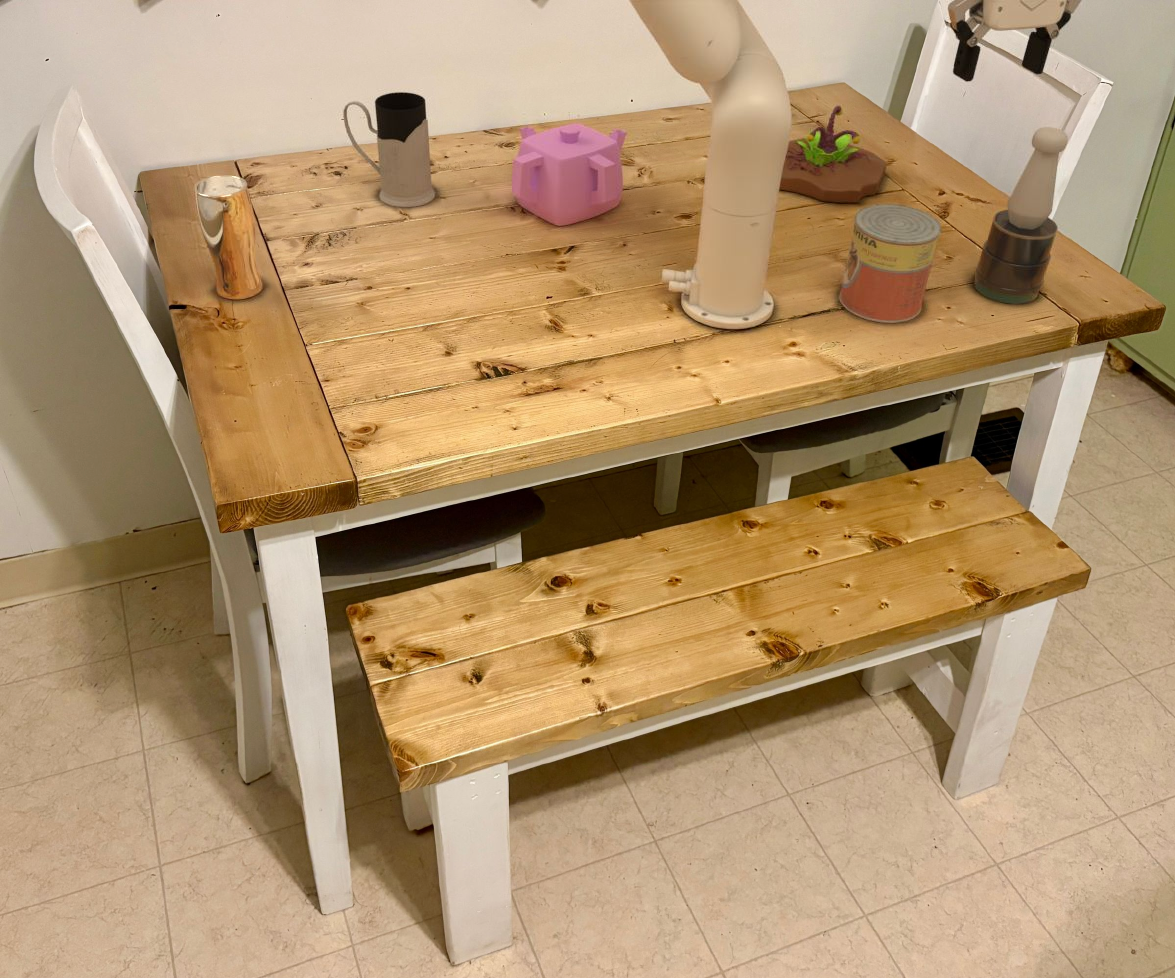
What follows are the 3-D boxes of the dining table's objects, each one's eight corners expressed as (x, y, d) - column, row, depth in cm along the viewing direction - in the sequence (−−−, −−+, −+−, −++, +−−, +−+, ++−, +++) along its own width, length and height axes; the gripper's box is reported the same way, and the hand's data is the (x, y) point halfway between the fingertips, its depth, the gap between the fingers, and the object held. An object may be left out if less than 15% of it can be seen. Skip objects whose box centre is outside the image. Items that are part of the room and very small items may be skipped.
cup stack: (975, 301, 158) (994, 234, 151) (968, 269, 165) (986, 204, 158) (1044, 308, 157) (1066, 242, 150) (1034, 276, 164) (1055, 211, 157)
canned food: (834, 280, 161) (849, 202, 153) (912, 283, 161) (931, 205, 153) (845, 321, 152) (861, 240, 145) (928, 324, 152) (949, 244, 145)
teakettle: (509, 225, 171) (508, 147, 163) (520, 178, 184) (519, 103, 176) (621, 231, 171) (625, 153, 163) (623, 183, 184) (628, 109, 176)
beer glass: (239, 306, 150) (219, 202, 140) (202, 291, 153) (180, 187, 143) (276, 285, 155) (260, 182, 145) (240, 271, 157) (221, 169, 148)
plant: (900, 170, 191) (915, 105, 184) (857, 212, 178) (870, 144, 171) (793, 142, 199) (803, 79, 192) (744, 180, 186) (752, 113, 179)
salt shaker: (1048, 234, 152) (1078, 141, 143) (1004, 229, 152) (1032, 136, 144) (1044, 216, 156) (1072, 124, 148) (1001, 211, 157) (1027, 120, 149)
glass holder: (420, 211, 174) (413, 115, 164) (338, 195, 177) (327, 101, 167) (444, 188, 180) (439, 95, 171) (364, 174, 183) (355, 82, 174)
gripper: (992, -73, 116) (952, 91, 127) (1127, -81, 121) (1077, 78, 132) (951, -90, 122) (916, 69, 133) (1082, -97, 127) (1038, 57, 138)
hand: (997, 73), depth 132 cm, fingers open, 9 cm apart
